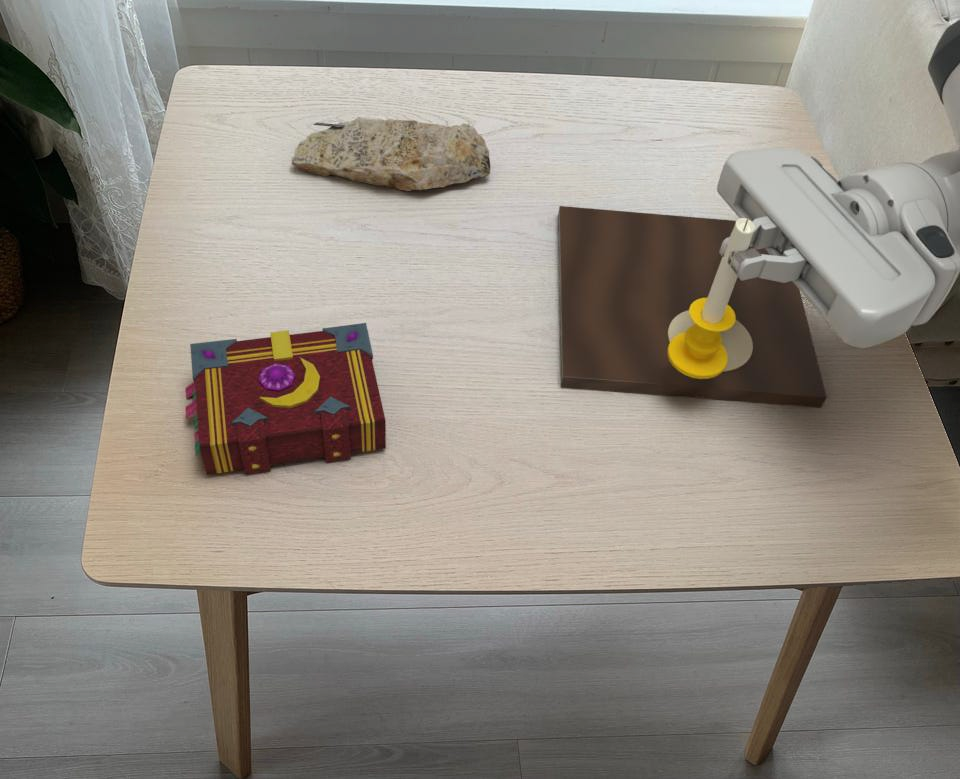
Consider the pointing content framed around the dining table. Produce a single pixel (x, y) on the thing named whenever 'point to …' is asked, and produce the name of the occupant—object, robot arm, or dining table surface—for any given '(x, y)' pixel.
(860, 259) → the robot arm
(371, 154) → the stone
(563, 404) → the dining table surface
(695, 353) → the candle
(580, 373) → the board
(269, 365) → the decorative book
